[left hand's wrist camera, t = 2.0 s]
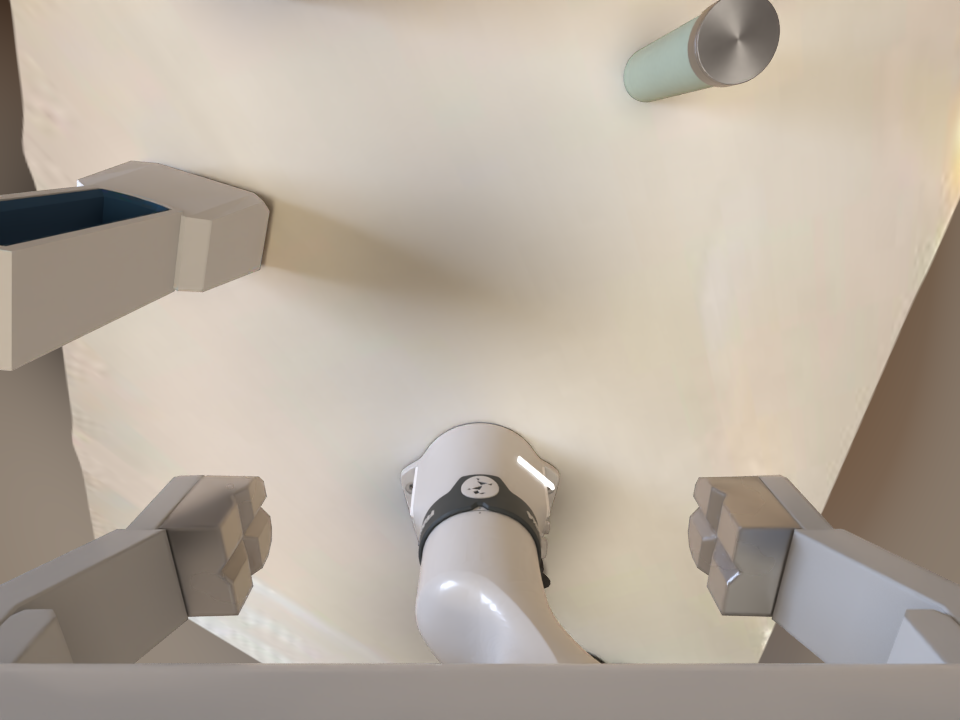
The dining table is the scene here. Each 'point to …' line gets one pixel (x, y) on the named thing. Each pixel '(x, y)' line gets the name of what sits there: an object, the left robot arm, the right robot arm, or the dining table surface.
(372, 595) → the dining table surface
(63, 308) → the electronic device
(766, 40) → the lid
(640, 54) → the mint green cylinder
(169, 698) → the left robot arm
